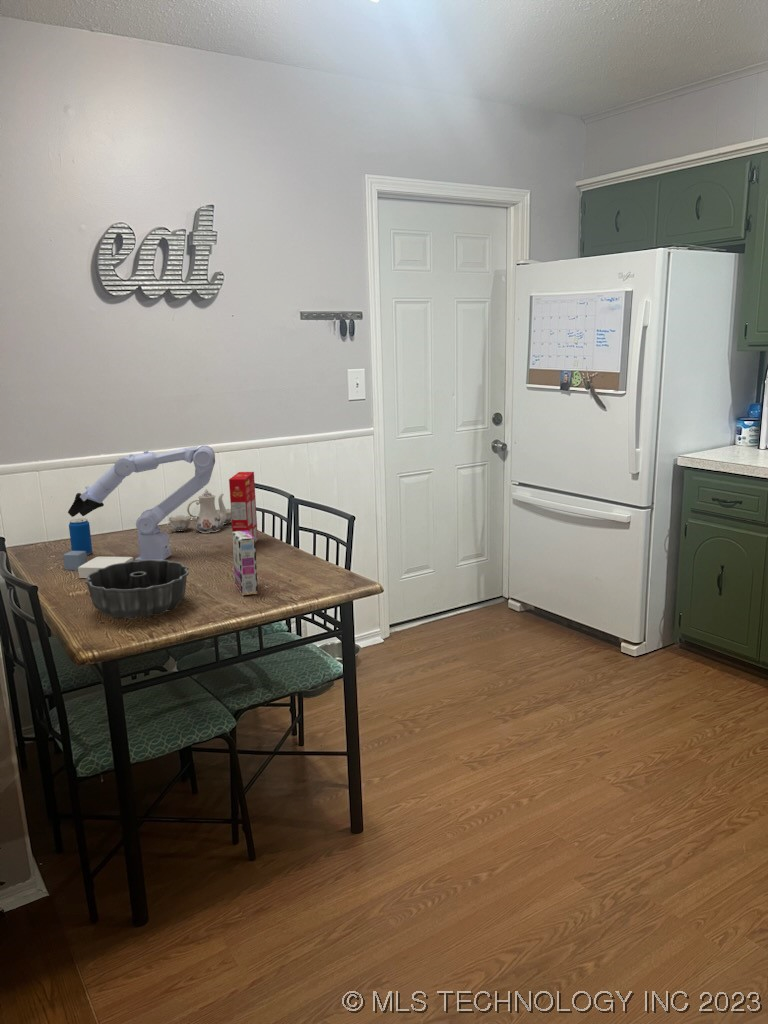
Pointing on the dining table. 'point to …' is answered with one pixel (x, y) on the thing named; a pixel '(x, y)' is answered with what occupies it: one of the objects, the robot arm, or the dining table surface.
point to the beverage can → (80, 535)
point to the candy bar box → (245, 561)
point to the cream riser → (100, 564)
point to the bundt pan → (138, 588)
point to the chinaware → (204, 515)
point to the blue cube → (74, 559)
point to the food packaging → (243, 503)
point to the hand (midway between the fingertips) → (75, 514)
